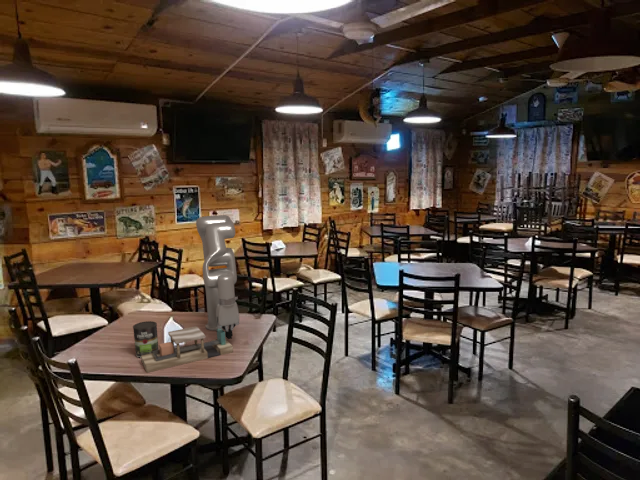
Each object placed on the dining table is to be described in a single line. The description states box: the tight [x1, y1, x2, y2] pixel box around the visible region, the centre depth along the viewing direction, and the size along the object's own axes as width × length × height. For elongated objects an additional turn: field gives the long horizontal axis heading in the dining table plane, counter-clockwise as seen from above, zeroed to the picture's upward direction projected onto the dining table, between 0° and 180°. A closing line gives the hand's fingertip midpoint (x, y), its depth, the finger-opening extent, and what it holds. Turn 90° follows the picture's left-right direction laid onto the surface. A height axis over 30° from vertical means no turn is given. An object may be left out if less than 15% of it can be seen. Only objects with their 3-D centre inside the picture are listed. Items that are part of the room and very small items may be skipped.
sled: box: [152, 329, 227, 361], centre depth 205 cm, size 9×31×6 cm, turn 121°
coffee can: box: [132, 320, 159, 359], centre depth 209 cm, size 10×10×14 cm
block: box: [158, 341, 174, 356], centre depth 200 cm, size 5×5×5 cm
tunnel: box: [140, 325, 234, 374], centre depth 204 cm, size 14×38×11 cm, turn 121°
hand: (229, 338), depth 214 cm, fingers closed
